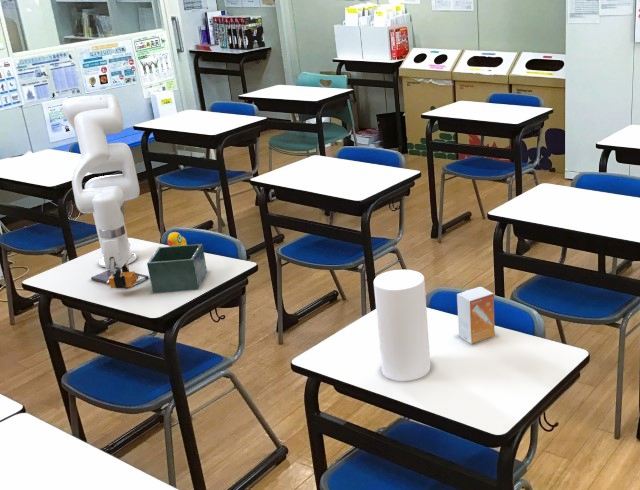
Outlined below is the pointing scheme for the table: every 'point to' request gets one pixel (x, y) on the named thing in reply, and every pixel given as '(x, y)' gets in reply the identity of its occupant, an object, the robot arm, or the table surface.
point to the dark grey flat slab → (105, 275)
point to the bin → (177, 268)
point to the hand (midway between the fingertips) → (123, 283)
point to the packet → (129, 279)
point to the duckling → (176, 239)
